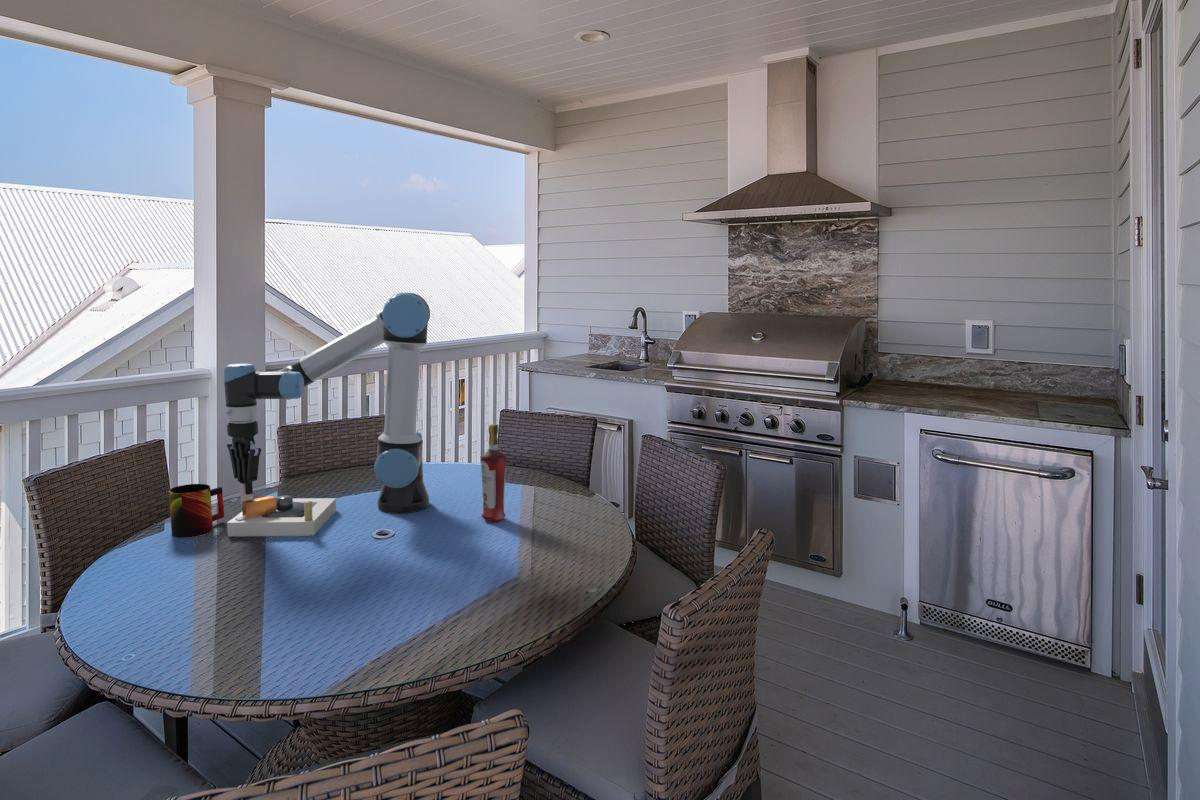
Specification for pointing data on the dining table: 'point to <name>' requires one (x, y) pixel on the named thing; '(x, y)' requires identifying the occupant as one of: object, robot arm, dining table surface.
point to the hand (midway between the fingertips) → (247, 504)
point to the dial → (273, 507)
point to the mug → (193, 509)
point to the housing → (286, 521)
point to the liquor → (493, 479)
